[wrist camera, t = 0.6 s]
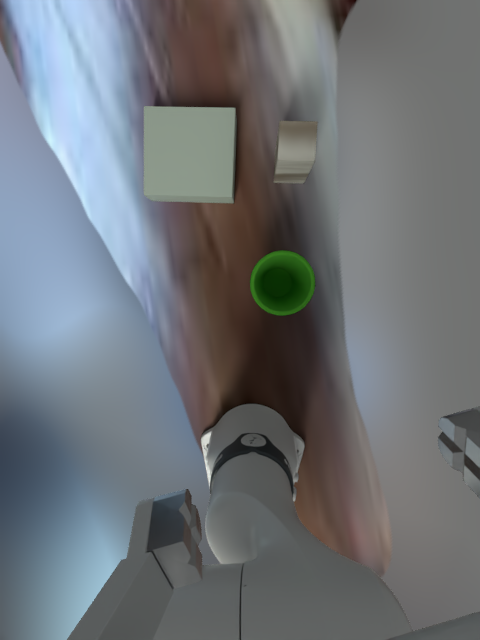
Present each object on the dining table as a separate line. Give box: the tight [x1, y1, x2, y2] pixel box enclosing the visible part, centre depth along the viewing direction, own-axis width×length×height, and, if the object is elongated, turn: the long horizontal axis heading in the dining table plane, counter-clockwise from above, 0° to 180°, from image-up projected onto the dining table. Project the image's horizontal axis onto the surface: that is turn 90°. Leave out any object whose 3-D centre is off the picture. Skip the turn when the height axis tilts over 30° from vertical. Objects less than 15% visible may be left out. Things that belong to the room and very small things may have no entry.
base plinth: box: [144, 106, 237, 203], centre depth 51 cm, size 13×14×4 cm
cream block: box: [274, 121, 317, 184], centre depth 48 cm, size 5×5×10 cm
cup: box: [250, 250, 315, 316], centre depth 50 cm, size 9×9×11 cm
